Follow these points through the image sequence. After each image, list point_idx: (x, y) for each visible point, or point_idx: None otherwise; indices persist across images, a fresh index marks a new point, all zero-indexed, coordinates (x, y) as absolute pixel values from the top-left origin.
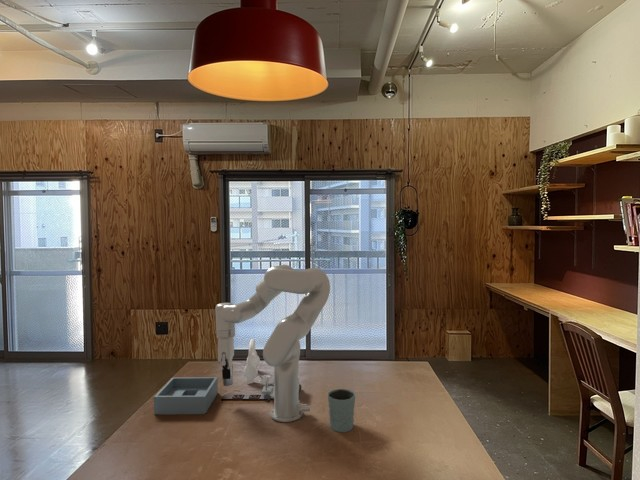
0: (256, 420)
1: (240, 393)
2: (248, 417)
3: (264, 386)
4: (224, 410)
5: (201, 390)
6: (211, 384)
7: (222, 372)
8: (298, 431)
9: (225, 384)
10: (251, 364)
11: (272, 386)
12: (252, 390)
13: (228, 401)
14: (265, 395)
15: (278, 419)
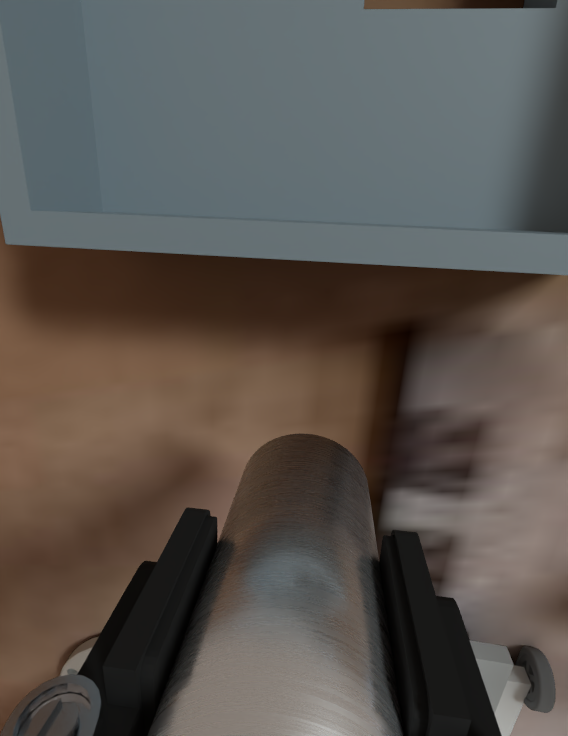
0: (72, 567)
1: (506, 466)
2: (102, 529)
3: (500, 666)
4: (189, 377)
5: (531, 62)
6: (410, 244)
7: (139, 601)
8: (3, 709)
9: (242, 478)
10: None
11: None
12: (547, 549)
13: (352, 387)
14: None
15: (62, 669)
